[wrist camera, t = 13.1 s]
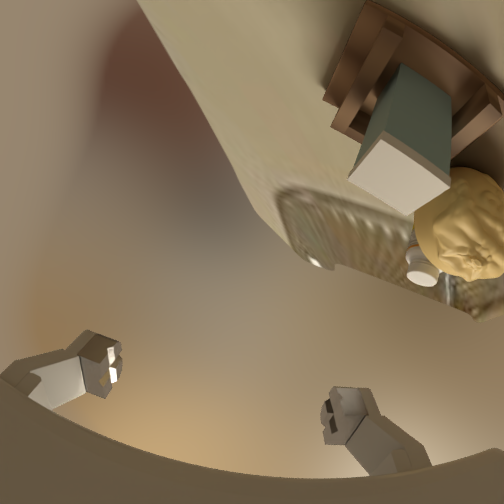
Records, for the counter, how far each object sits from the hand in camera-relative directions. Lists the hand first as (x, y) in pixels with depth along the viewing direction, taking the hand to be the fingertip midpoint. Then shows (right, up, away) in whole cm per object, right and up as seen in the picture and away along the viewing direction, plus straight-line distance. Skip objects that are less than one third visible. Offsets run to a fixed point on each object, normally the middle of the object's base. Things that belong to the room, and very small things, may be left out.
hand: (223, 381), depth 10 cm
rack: (+15, +19, +9) cm, 26 cm away
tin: (+15, +18, +9) cm, 25 cm away
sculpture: (+26, +12, +16) cm, 32 cm away
